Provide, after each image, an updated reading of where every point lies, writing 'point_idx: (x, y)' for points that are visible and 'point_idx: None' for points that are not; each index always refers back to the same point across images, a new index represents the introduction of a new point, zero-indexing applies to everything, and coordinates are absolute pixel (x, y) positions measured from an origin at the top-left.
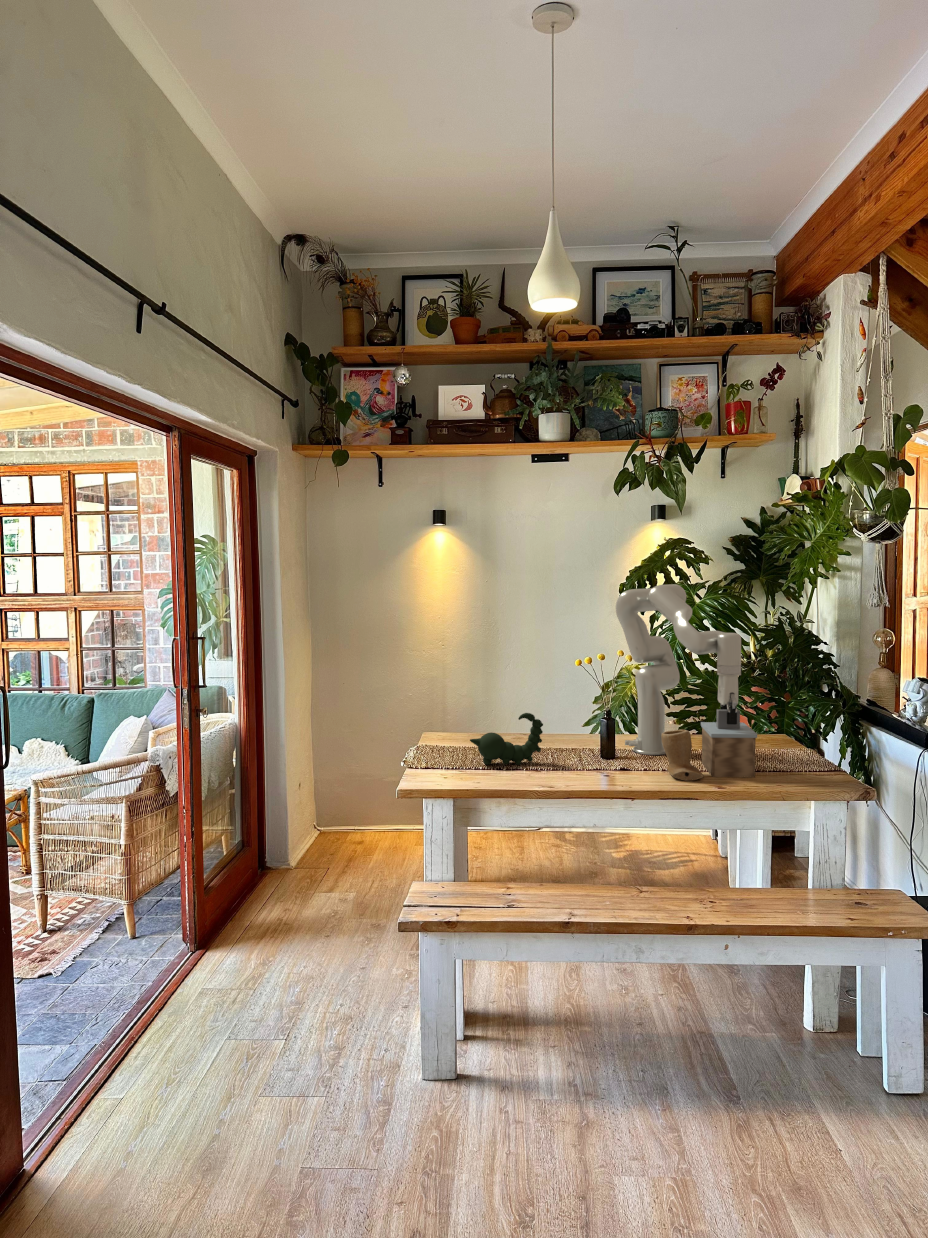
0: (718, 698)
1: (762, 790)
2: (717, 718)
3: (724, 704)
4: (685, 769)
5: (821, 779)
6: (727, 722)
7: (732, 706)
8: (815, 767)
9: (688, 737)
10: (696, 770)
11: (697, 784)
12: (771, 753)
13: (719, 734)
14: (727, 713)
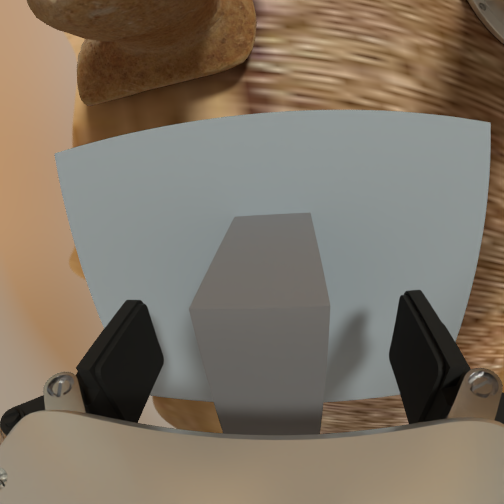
0: (423, 481)
1: (72, 269)
2: (260, 250)
3: (26, 417)
4: (93, 43)
5: (214, 408)
6: (124, 309)
7: (3, 428)
8: (326, 420)
9: (44, 21)
10: (110, 79)
11: (77, 92)
12: (471, 357)
13: (66, 206)
14: (84, 363)
